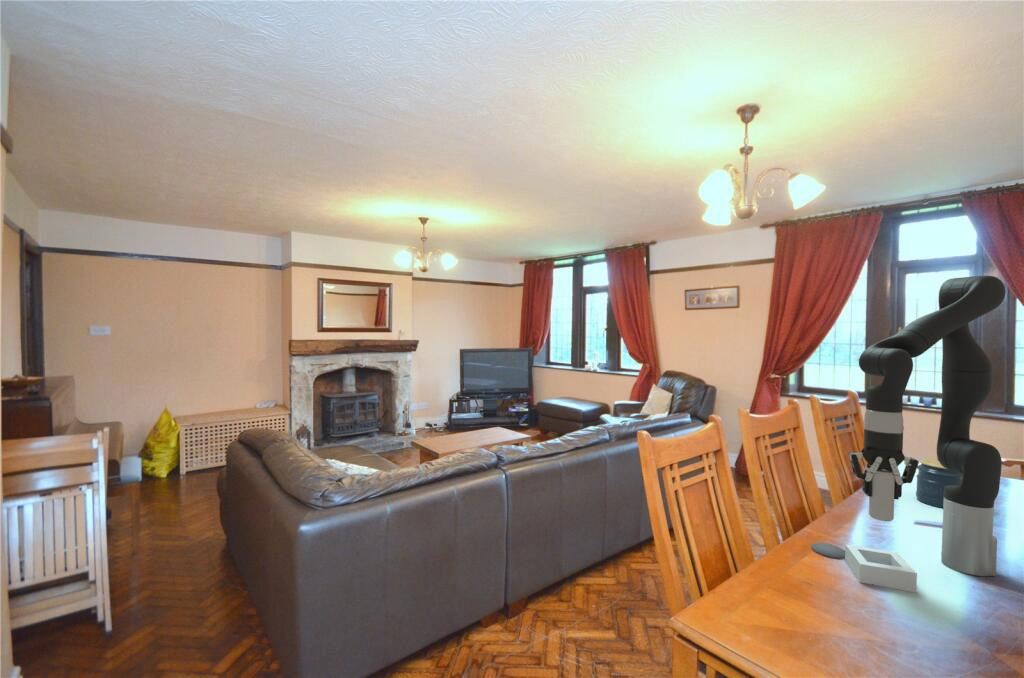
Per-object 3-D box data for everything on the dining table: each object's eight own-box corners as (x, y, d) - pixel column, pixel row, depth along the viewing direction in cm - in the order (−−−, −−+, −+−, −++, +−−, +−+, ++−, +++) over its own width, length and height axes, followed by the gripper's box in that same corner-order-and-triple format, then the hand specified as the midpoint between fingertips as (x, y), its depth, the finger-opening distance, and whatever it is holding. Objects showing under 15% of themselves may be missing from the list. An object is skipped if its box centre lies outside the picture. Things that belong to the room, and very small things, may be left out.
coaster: (841, 547, 128) (841, 545, 128) (851, 561, 121) (851, 559, 121) (808, 542, 131) (808, 540, 131) (815, 555, 124) (815, 553, 124)
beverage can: (898, 523, 110) (899, 473, 110) (875, 521, 111) (876, 472, 111) (886, 515, 115) (887, 468, 115) (864, 513, 116) (865, 466, 116)
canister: (959, 501, 166) (961, 453, 165) (970, 513, 155) (972, 461, 154) (912, 494, 173) (913, 447, 172) (919, 505, 162) (921, 455, 161)
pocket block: (896, 569, 117) (896, 552, 117) (916, 592, 106) (916, 573, 106) (844, 561, 121) (845, 544, 121) (859, 582, 110) (860, 563, 110)
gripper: (912, 428, 114) (910, 495, 114) (843, 423, 119) (842, 488, 119) (927, 434, 107) (925, 506, 107) (853, 429, 112) (851, 498, 112)
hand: (881, 496), depth 113 cm, fingers closed on beverage can, 4 cm apart
